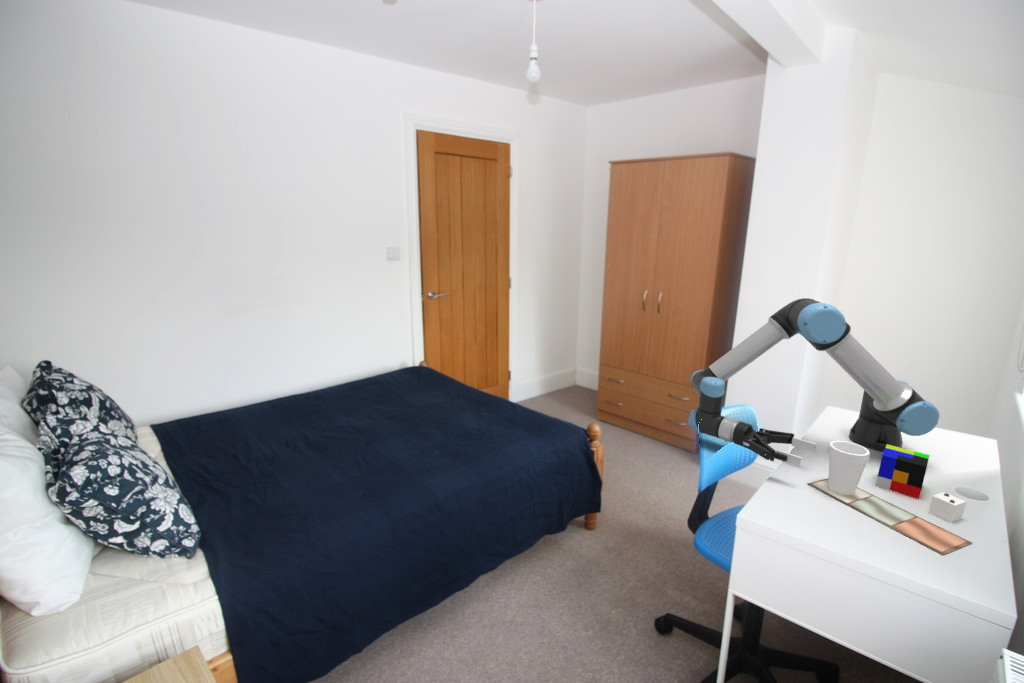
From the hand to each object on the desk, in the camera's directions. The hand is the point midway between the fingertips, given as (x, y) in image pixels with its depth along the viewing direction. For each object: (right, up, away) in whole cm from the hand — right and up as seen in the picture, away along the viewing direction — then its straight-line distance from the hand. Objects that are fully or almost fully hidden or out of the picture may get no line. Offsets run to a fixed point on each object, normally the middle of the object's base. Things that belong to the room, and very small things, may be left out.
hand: (808, 455), depth 146 cm
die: (+26, -12, -16) cm, 33 cm away
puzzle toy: (+26, -9, -2) cm, 27 cm away
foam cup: (+6, -9, -5) cm, 12 cm away
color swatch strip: (+11, -12, -15) cm, 22 cm away
